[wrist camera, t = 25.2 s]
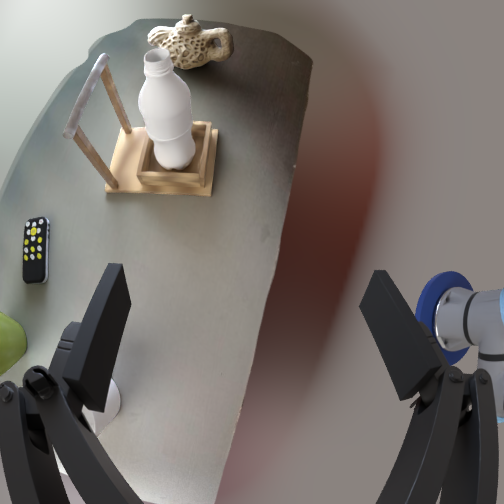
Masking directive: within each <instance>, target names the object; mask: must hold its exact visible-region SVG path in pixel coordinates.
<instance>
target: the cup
mask: <svg viewBox="0 0 504 504" xmlns="http://www.w3.org/2000/svg"><path fill="white" fill-rule="evenodd" d="M120 401H121V400H120V394H119V391H118V388H117V386H116V384H115V382H114V381H113V379H112V378H111V382H110V386H109V391H108V396H107V401H106V405H105V411H104V413H101V412H96V411H91V410H88V409H87V408H86V407H85V406H84V404H83V408H82V412H83V414H84V415H85V417H86V419H87V421H88V423H89V425H90V426H91V428H92V430H93V432H94V433H95V435H96V437H97V436H98V435H99V434H100V433H101V432H102V431H103V430H104V428H105V427H106V426H107V425H108V424H109V423H110V422H111V421H112V420H113V419H114V418H115V416H116V415H117V413H118V412H119V408H120Z"/></svg>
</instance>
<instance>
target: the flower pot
mask: <svg viewBox="0 0 504 504" xmlns="http://www.w3.org/2000/svg"><path fill="white" fill-rule="evenodd" d="M26 348H27V339H26V335H25V332H24V330H23V328H22V326H21V325H20V324H19V323H18V322H16V321H15V320H13V319H12V318H10V317H9V316H7V315H5V314H3V313H2V312H0V376H1V375H2V374H4V373H5V372H6V371H7V370H9V369H10V368H11V367H12V366H13V365H14V364H15V363H16V362H17V361H18V360H19V359H20V358H21V357H22V356H23V354H24V353H25V351H26Z"/></svg>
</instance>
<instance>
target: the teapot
mask: <svg viewBox="0 0 504 504" xmlns="http://www.w3.org/2000/svg"><path fill="white" fill-rule="evenodd" d="M182 18H183V20H182V21H180V22H179V23H177V24H176V26H175V28H174V27H171V28H170V27H163V26H159V27H156V28H154V29H153V30H152V31H151V32H150V34H149V35H148V42H149V44H150V45H152V46H156V45H157V46H158V47H159V48H164V49H167V50H168V51H169V52H170V59H171V60H172V63H173V65H174V66H175V67H178V68H181V69H190V68H194V67H199V66H202V65H204V64H205V63H207V62H209V61H210V60H214V61H217V62H220V61H224V60H227V59H228V58H229V57H230V56H231V55H232V54H233V52H234V44H233V36H232V35H231V34H230V32H229V31H228V30H227V29H224V28H217V29H210V30H204V29H201V26H200V25H199V22H198V21H196V20H194V19H193V17H192V15H189V14H185V15H183V17H182ZM217 38H219V39H220V40H221V45H222V47H219V46H218V45H217V44H216V43H215V41H214V39H217Z"/></svg>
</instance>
